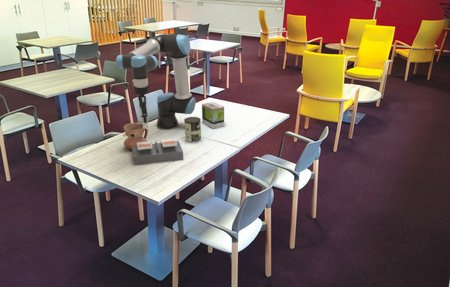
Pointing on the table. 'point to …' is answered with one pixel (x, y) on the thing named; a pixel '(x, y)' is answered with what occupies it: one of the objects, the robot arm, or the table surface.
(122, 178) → the table surface
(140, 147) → the breaker
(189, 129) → the coffee can
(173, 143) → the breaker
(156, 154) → the breaker panel
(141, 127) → the ceramic jug
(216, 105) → the tea box
